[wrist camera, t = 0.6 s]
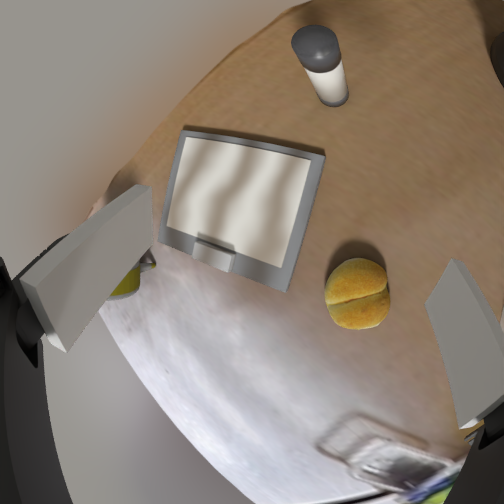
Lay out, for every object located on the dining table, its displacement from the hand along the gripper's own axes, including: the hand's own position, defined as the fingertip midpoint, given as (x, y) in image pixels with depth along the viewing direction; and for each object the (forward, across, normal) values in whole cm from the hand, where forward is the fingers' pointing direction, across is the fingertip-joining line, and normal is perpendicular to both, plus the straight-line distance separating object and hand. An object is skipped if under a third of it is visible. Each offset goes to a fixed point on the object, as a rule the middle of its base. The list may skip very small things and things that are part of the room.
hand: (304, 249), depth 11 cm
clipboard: (+25, -8, -10) cm, 29 cm away
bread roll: (+18, +11, -15) cm, 26 cm away
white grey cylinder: (+28, +2, +7) cm, 29 cm away
